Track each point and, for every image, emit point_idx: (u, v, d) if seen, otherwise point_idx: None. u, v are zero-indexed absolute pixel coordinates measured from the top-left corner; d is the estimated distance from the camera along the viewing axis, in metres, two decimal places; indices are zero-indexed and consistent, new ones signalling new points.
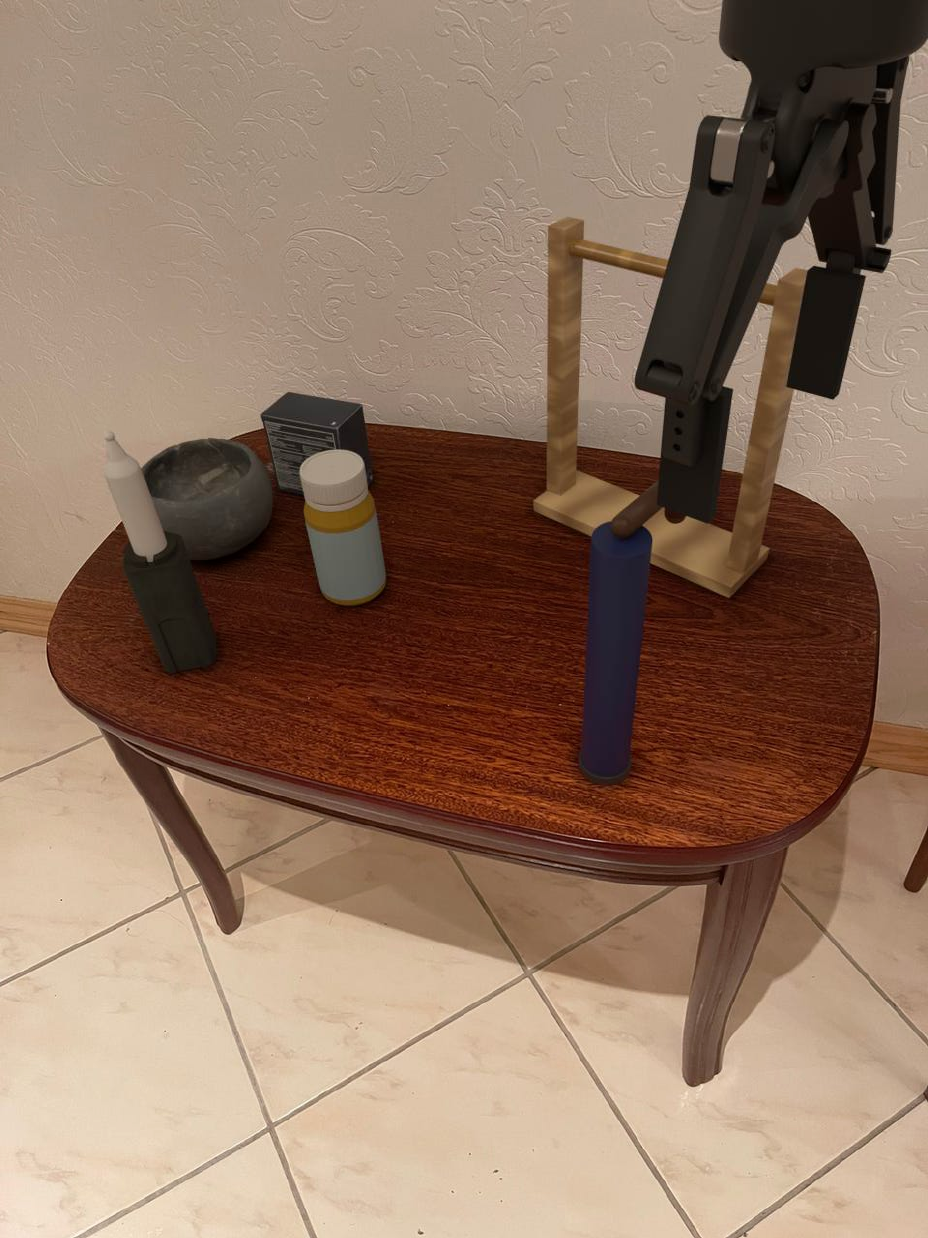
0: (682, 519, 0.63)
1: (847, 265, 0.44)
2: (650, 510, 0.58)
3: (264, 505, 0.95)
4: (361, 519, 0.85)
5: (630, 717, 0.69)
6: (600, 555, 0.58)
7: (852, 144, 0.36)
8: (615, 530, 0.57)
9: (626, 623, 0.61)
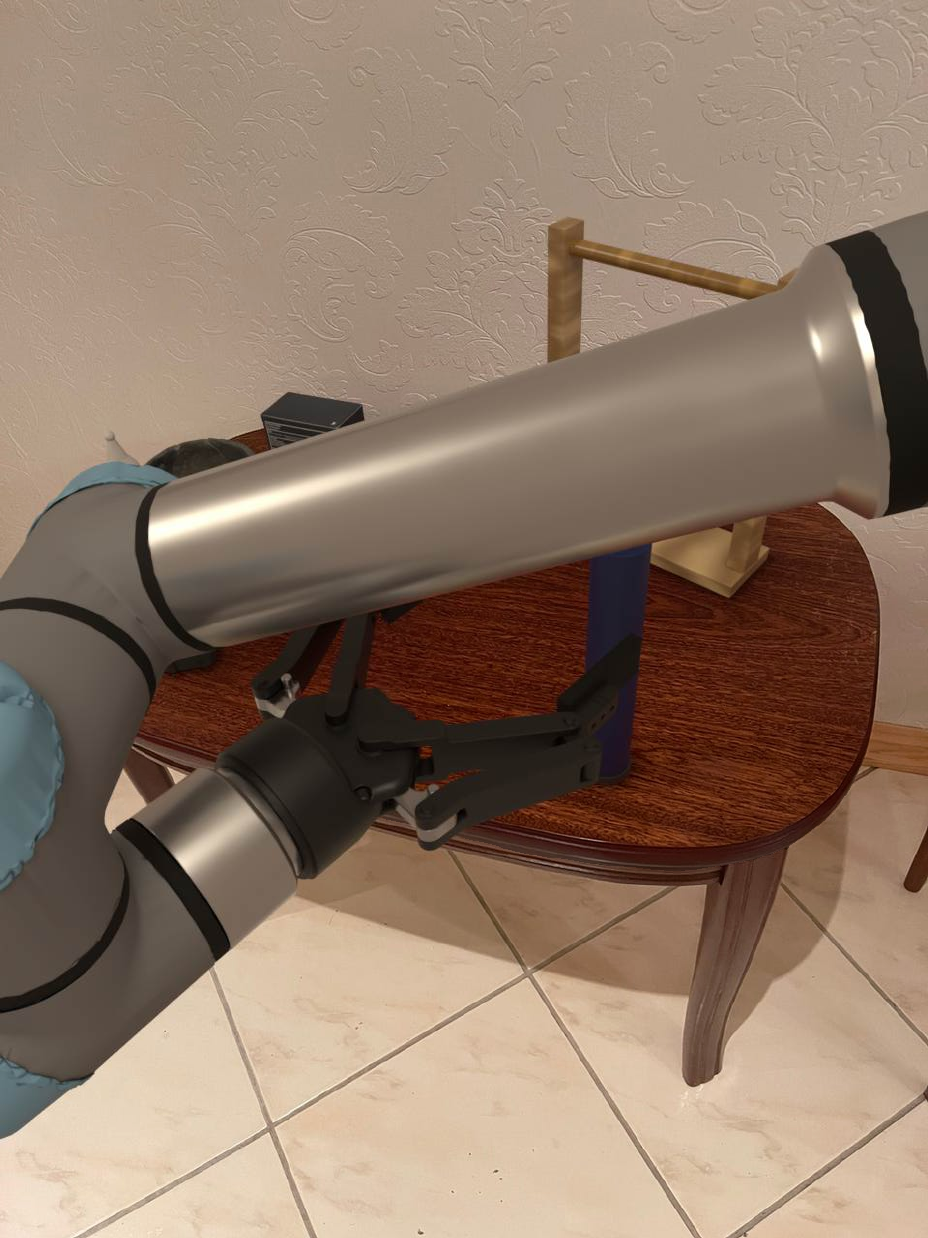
0: None
1: None
2: None
3: None
4: None
5: (630, 717, 0.69)
6: None
7: (349, 703, 0.45)
8: None
9: (626, 623, 0.61)
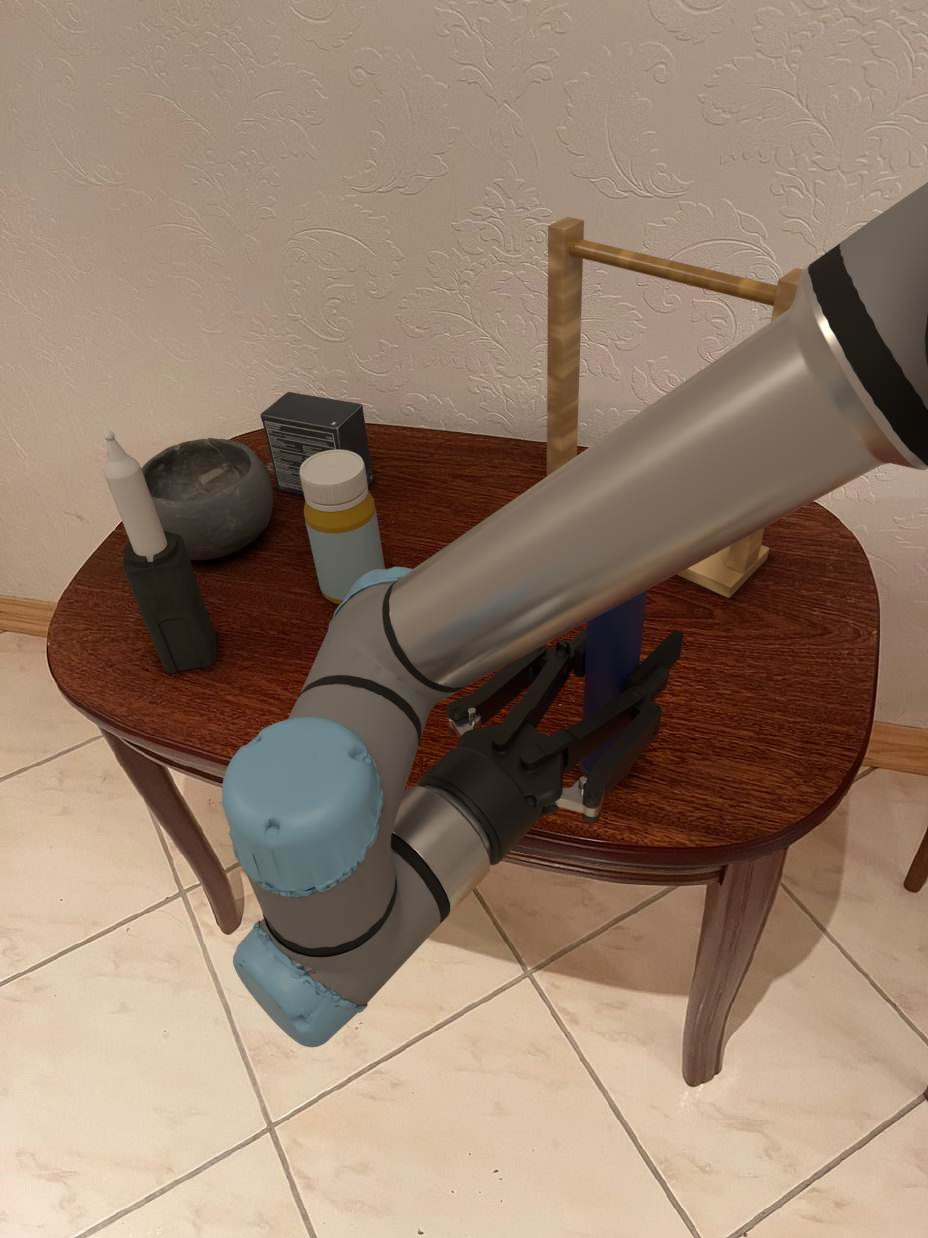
0: None
1: (570, 664, 0.67)
2: None
3: (264, 505, 0.95)
4: (361, 519, 0.85)
5: None
6: None
7: None
8: None
9: (626, 623, 0.61)
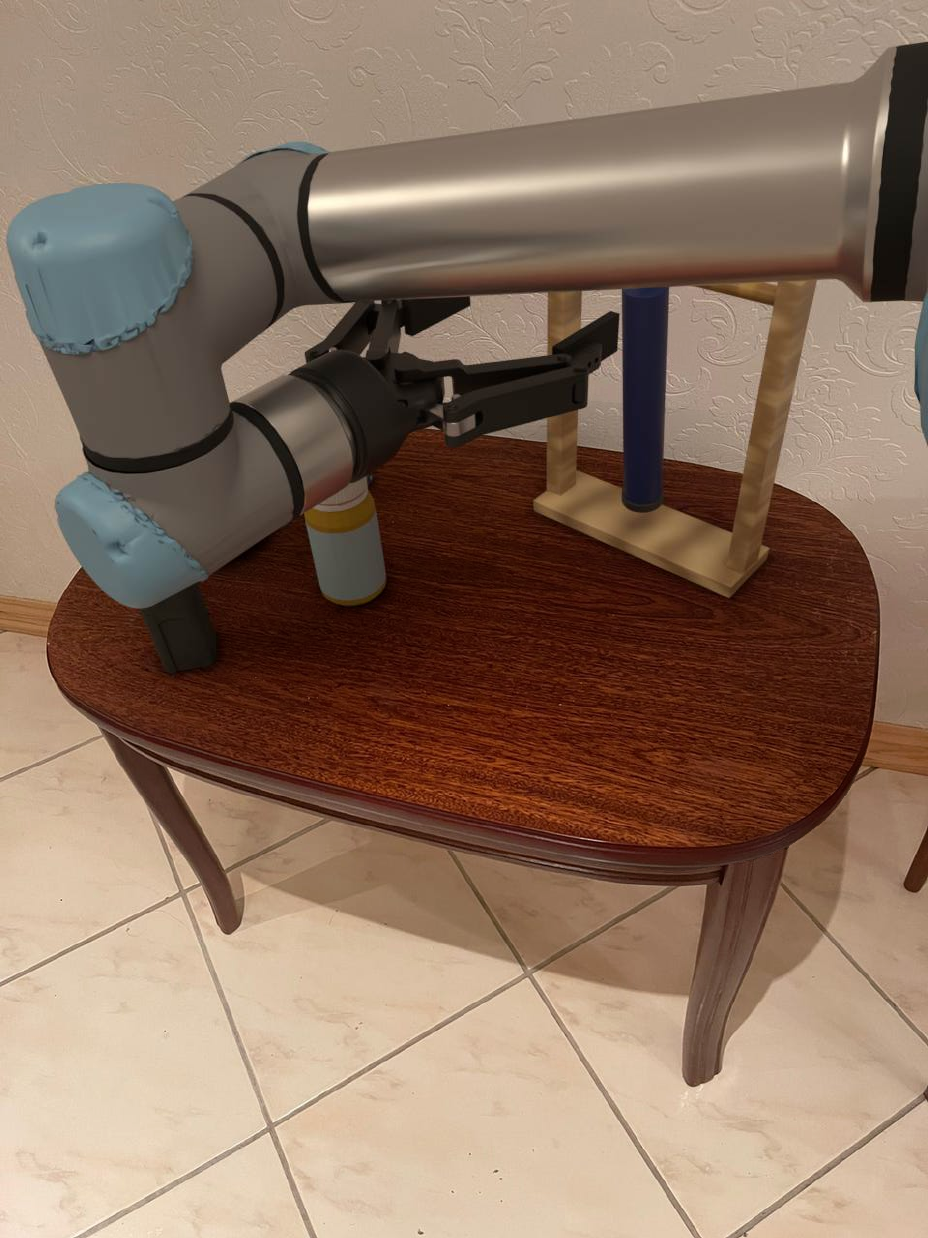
0: None
1: (400, 313, 0.64)
2: None
3: None
4: (361, 519, 0.85)
5: (660, 448, 0.87)
6: (629, 299, 0.75)
7: (386, 356, 0.57)
8: None
9: (652, 358, 0.79)
